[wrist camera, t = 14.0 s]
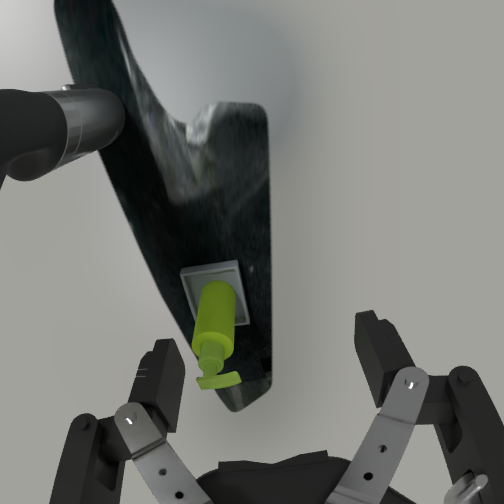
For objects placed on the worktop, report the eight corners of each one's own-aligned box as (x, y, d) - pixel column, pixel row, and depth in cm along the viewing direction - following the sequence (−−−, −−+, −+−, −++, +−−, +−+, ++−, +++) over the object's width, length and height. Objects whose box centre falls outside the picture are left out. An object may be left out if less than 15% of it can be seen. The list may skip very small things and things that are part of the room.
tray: (181, 268, 53) (179, 274, 51) (237, 259, 53) (237, 265, 51) (199, 323, 59) (197, 330, 57) (249, 316, 58) (249, 323, 56)
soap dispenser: (245, 303, 56) (246, 394, 38) (207, 311, 57) (195, 400, 39) (236, 275, 53) (233, 365, 36) (196, 284, 54) (178, 373, 36)
